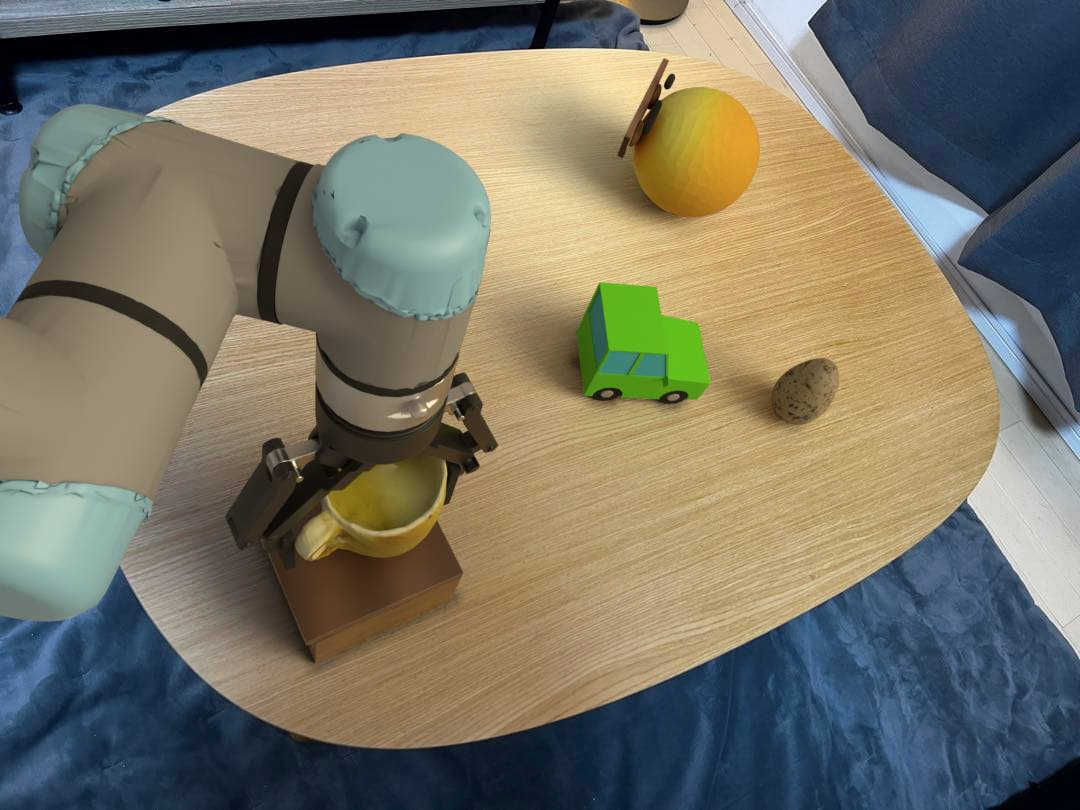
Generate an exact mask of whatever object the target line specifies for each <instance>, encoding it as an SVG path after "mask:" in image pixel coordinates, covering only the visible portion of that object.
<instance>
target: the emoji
mask: <svg viewBox="0 0 1080 810" xmlns="http://www.w3.org/2000/svg"><path fill="white" fill-rule="evenodd" d="M669 62H670V60H669V59H667V58H665V57H663V58H662V59H661V62H660V64H659V66H658V68H657V70H656V73H655V74H654V76H653V78H652V80H651V82H650V84H649V86H648V88H647V90H646V91H645V94H644V96H643V98H642V100H641V102H640V104H639V106H638V108H637V109H636V112H635V114H634V116H633V117H632V120H631V121H630V124H629V125H628V128H627V129H626V132H625V134H624V135H623V139H622V141H621V143H620V146H619V148H618V152H617V154H616V156H617V157H619V158H620V159H623V158H624V157H625V155H626V153H627V151H628V150H629V147H630V148H632V147H633V149H632V164H633V169H634V173H635V176H636V178H637V182H638V185H639V186H640V188H641V190H642V191H643V192H644V194H645V196H647V197H648V199H649V200H650V201H651V202H653V203H654V204H655V205H656V206H657V207H658V208H660V209H662V210H663V211H664V212H665V211H666V212H668V213H670V214H672V215H675V216H679V217H683V218H684V217H685V218H702V217H708V216H711V215H714V214H717V213H719V212H721V211H724V210H726V209H727V208H728V207H730V206H732V205H733V204H734V203H735V202H736V201H738V200H739V199H740V198H741V196H742V195H743V194H744V193H745V192H746V191H747V190H748V187H749V186H750V185H751V184H752V181H753V180H754V177H755V175H756V173H757V169H758V165H759V161H760V157H761V156H760V155H761V143H760V142H761V141H760V136H759V132H758V128H757V126H756V123H755V121H754V119H753V117H752V115H751V114H750V113H749V111H748V109H747V108H746V107H745V106H744V105H743V104H742V103H741V102H740V101H739V100H738V99H737V98H735V97H733V96H732V95H731V94H729V93H727V92H725V91H722V90H720V89H717V88H712V87H707V86H692V87H687V88H682V89H679V90H676V91H674V92H671V93H670V94H668V95H666V96H665V97H663V98H662V99H660V97H661V94H662V90H663V89H662V88H664V90H667V91H668V90H670V89H671V88H672V86H673V85H674V82H675V80H676V75H675V74H674V73H670V74H669V75H668V76H667V77H666V79H665V80H664V83H663V87H662V84H661V83H660V82H661V80H662V78H663V76H664V73H665V71H666V68H667V66H668V65H669ZM647 111H648V112H647Z"/></svg>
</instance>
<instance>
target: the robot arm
mask: <svg viewBox="0 0 1080 810" xmlns="http://www.w3.org/2000/svg"><path fill="white" fill-rule="evenodd" d="M29 153H30V155H29V156H30V158H29V163H28V166H27V168H26V169H24V171H22V172H21V175H20V178H19V185H18V186H19V187H18V198H17V201H18V202H17V203H18V215H19V216H18V217H19V222H20V226H21V230H22V233H23V236H24V238H25V240H26V242H27V244H28V245H29V247H30V248H31V249H32V251H33V252H34V253H35V254H36V255H37V256H38V257H40V258H41V261H40V262H39V264H38V266H37V267H36V268H35V270H34V272H33V273H32V275H31V276H30V278H29V280H28V281H27V283H26V284H25V286H24V288H23V290H22V291H21V293H20V294H19V295H18V297H17V299H16V300H15V301H14V303H13V305H11V308H10V310H9V312H8V313H7V314H6V315H5V316H3V315H1V314H0V617H6V618H11V619H16V620H23V621H30V622H45V623H47V622H49V623H51V622H59V621H60V622H61V621H67V620H71V619H73V618H75V617H77V616H79V615H81V614H83V613H88V612H89V611H90V610H91V609H93V608H95V607H97V606H98V605H99V604H100V602H101V601H102V599H103V597H105V594H106V593H107V591H108V589H109V587H110V585H111V582H112V581H113V579H114V577H115V575H116V574H117V571H118V569H119V568H120V565H121V563H122V562H123V560H124V557H125V555H126V554H127V552H128V550H129V547H130V546H131V543H132V541H133V540H134V538H135V536H136V534H137V532H138V530H139V528H140V526H141V524H142V523H144V522H145V521H146V520H148V519H149V518H150V516H151V515H152V511H153V504H154V499H155V498H156V497H155V496H156V494H157V492H158V490H159V488H160V485H161V482H162V480H163V478H164V475H165V473H166V470H167V468H168V466H169V464H170V462H171V459H172V458H173V457H172V456H173V455H174V452H175V449H176V448H177V445H178V442H179V440H180V438H181V436H182V433H183V431H184V428H185V426H186V423H187V421H188V419H189V417H190V414H191V412H192V410H193V407H194V405H195V403H196V400H197V398H198V395H199V394H200V392H201V390H202V388H203V385H204V383H205V381H206V380H207V378H208V375H209V373H210V371H211V369H212V366H213V365H214V362H215V360H216V357H217V356H218V353H219V351H220V349H221V346H222V344H223V342H224V339H225V337H226V335H227V333H228V330H229V328H230V326H231V324H232V322H233V319H234V318H235V317H236V315H237V316H241V317H246V318H251V319H255V320H259V321H264V322H267V323H272V324H276V325H281V326H282V325H287V326H289V327H294V328H297V329H302V330H305V331H309V332H314V333H315V359H314V361H315V362H314V363H315V364H314V377H315V382H314V383H315V386H314V394H315V395H314V397H315V398H314V402H315V403H314V416H315V426H314V427H313V429H312V430H311V431H310V433H309V435H308V437H307V440H305V441H302V442H298V443H295V444H292V445H289V444H284V441H283V439H282V438H281V437H273V438H270V439H268V440H266V441H265V442H264V443H262V445H261V459H260V461H259V463H258V464H257V466H256V467H255V469H254V471H253V472H252V473H251V475H250V477H249V478H248V480H247V481H246V483H245V484H244V486H243V487H242V489H241V491H240V492H239V494H238V495H237V497H236V498H235V500H234V501H233V503H232V504H231V506H230V508H229V509H228V510H227V511H226V514H225V515H224V518H225V520H226V523H227V526H228V528H229V531H230V534H231V536H232V538H233V541H234V543H235V545H236V549H238V550H239V551H244V550H247V549H250V548H252V547H253V546H254V545H255V544H256V543H257V542H258V541H260V543H261V546H262V549H263V551H264V553H267V554H268V553H270V552H272V551H275V550H277V551H278V554H279V556H280V558H281V561H282V563H283V565H284V568H285V570H286V571H287V570H290V569H292V568H294V567H296V563H295V542H294V534H293V532H292V529H291V528H292V527H293V526H294V525H295V524H296V523H297V522H298V521H299V520H301V519H302V518H303V517H304V516H305V515H306V514H307V513H308V512H309V511H310V510H312V509H313V508H314V507H315V506H316V505H317V504H318V503H319V502H320V501H321V500H322V499H324V498H325V497H326V496H327V495H328V494H329V493H330V492H331V491H337V490H343V489H345V488H346V487H347V486H348V485H349V484H350V483H351V482H353V481H354V480H355V479H356V478H357V477H358V476H359V475H360V474H361V473H363V472H368V471H370V470H371V469H372V468H373V467H375V466H376V465H386V464H394V463H398V462H402V461H405V460H407V459H410V458H412V457H414V456H415V457H419V458H422V459H424V458H426V457H427V456H428V455H430V456H433V457H436V458H440V459H443V460H445V461H446V467H447V482H446V496H445V500H444V504H443V507H444V506H446V505H449V504H450V502H451V500H452V497H453V494H454V491H455V489H456V485H457V483H458V479H459V477H460V476H463V475H464V474H466V475H470V474H471V473H474V472H476V471H478V470H479V468H480V467H481V465H480V463H479V461H478V459H477V457H476V455H475V454H476V453H477V452H479V451H482V452H483V453H484V454H487V453H488V454H489V453H491V452H493V451H495V450H497V448H498V446H499V444H498V441H497V440H496V438H495V435H494V434H493V432H492V431H491V429H490V427H489V425H488V424H487V421H486V420H485V418H484V417H483V415H482V414H481V413H482V410H483V407H484V404H483V401H482V400H481V397H480V396H479V394H478V392H477V390H476V388H475V387H474V385H473V383H472V381H471V379H470V378H469V376H468V375H467V374H468V373H466V372H459V373H457V374H455V373H456V369H457V365H458V362H459V358H460V352H461V350H462V346H463V343H464V339H465V336H466V333H467V329H468V326H469V323H470V320H471V316H472V312H473V310H474V306H475V302H476V299H477V296H478V294H479V289H480V286H481V282H482V278H483V273H484V269H485V266H486V255H487V250H488V246H489V242H490V241H489V240H490V235H491V230H492V229H491V226H492V225H491V224H492V210H491V203H490V199H489V196H488V193H487V191H486V187H485V185H484V184H483V182H482V180H481V178H480V177H479V175H478V174H477V172H476V171H475V170H474V169H473V168H472V166H470V165H469V163H468V162H467V161H466V160H464V159H463V158H462V157H461V156H460V155H458V154H457V153H456V152H454V151H453V150H452V149H450V148H448V147H447V146H446V145H443V144H441V143H439V142H436V141H434V140H432V139H429V138H427V137H423V136H420V135H415V134H411V133H403V132H402V133H399V134H398V135H396V136H393V137H380V136H379V135H377V134H371V135H370V134H369V135H365V136H362V137H359V138H357V139H354V140H352V141H350V142H348V143H346V144H344V145H343V146H342V147H340V148H339V149H338V150H337V151H336V152H335V153H334V154H332V156H331V157H330V158H329V159H328V161H327V162H326V164H322V163H321V164H320V163H315V164H312V163H309V162H305V161H301V160H297V159H294V158H290V157H287V156H283V155H280V154H278V153H273V152H270V151H267V150H263V149H260V148H257V147H254V146H250V145H247V144H244V143H240V142H237V141H234V140H231V139H227V138H224V137H221V136H217V135H214V134H211V133H208V132H205V131H202V130H198V129H195V128H192V127H189V126H185V125H184V124H182V123H181V122H179V121H178V120H174V119H171V118H167V117H164V116H162V115H161V116H160V115H159V116H151V115H148V114H144V113H143V114H142V113H139V112H134V111H130V110H126V109H118V108H117V109H116V108H112V107H106V106H102V105H98V104H97V105H96V104H92V103H80V104H79V103H78V104H73V105H71V106H67V107H65V108H62V109H61V110H59V111H58V112H56V113H54V114H53V115H52V116H51V117H50V118H49V119H48V120H47V121H46V122H45V123H44V124H43V125H42V127H41V128H40V129H39V130H38V132H37V133H36V134H35V137H34V138H33V139H32V142H31V144H30V150H29ZM444 413H448V415H449V416H454V417H455V419H456V420H457V422H462V423H463V426H464V427H465V428H466V431H464V432H463V431H462V430H461V429H459V428H457V427H455V426H452V425H449V424H447V423H445V422H442V421H443V417H444ZM338 468H339V469H342V470H341V471H340V472H339V469H338Z"/></svg>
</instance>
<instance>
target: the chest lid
mask: <svg viewBox="0 0 1080 810" xmlns="http://www.w3.org/2000/svg"><path fill="white" fill-rule="evenodd" d="M321 512H322V503H321V501H320V502H319V503H318V504H317V505H316V506H315V507H314V508H313V509H312V510H310V511H309V512H308V513H307V514H306V515H305V516H304V517H303V518H302V519H301V520H299V521H298V522H297V523H296V524H295V525H294V526H293V527H292V528H291V529H292V532H293V534H294V541H295V539H296V537H297V536H298V534H299V533H300V532H301V530H302V529H303V527H304V526H305V525H306V524H307V523H308V522H309V521H310V520H311V519H312V518H314V517H316V516H317V515H319V514H320V513H321ZM267 555H268V558H269V561H270V563H271V566H272V567H273V570H274V573H275V575H276V577H277V580H278V582H279V584H280V587H281V589H282V591H283V594H284V596H285V598H286V601H287V603H288V606H289V608H290V610H291V613H292V616H293V618H294V620H295V622H296V624H297V628H298V629H299V632H300V635H301V637H302V640H303V642H304V643H305V646H308V645H309V644H311V643H314V642H316V641H318V640H320V639H323V638H325V637H327V636H329V635H332V634H334V633H336V632H338V631H340V630H343V629H345V628H347V627H349V626H352V625H354V624H356V623H358V622H361V621H363V620H365V619H367V618H370V617H372V616H374V615H376V614H379V613H381V612H383V611H385V610H388V609H390V608H392V607H394V606H397V605H399V604H401V603H403V602H406V601H408V600H410V599H412V598H415V597H417V596H419V595H421V594H424V593H426V592H428V591H430V590H433V589H435V588H437V587H439V586H442V585H444V584H446V583H448V582H451V581H453V580H455V579H457V578H459V577H461V578H462V577H463V575H464V571H463V569H462V567H461V564H460V563H459V561H458V559H457V557H456V555H455V552H454V551H453V549H452V546H451V545H450V543H449V541H448V539H447V537H446V535H445V533H444V531H443V529H442V527H441V525H440V523H439V521H438V520H437V521H436V522H435V524H434V526H433V527H432V529H431V530H430V532H429V533H428V535H427V536H426V537H425V538H424V539H423V540H422V541H421V542H420V543H419V544H417V545H416V546H415V547H414V548H412V549H410V550H409V551H407V552H405V553H403V554H400V555H398V556H393V557H387V558H379V557H372V556H367V555H361V554H359V553H356V552H353V551H350V550H345V549H339V548H337V549H336V550H334V551H332V552H331V553H330V554H329V555H328V556H324V557H322V558H320V559H318V560H313V561H309V560H305V559H304V558H303V557H302V556H301V555H300V554H299V553H298V552H297V550H296V547H295V563H296V567H294V568H292V569H290V570H287V571H286V570H285V568H284V565H283V563H282V561H281V558H280V556H279V554H278V551H277V550H275V551H272V552H270V553H267Z"/></svg>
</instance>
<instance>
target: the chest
mask: <svg viewBox="0 0 1080 810" xmlns="http://www.w3.org/2000/svg"><path fill="white" fill-rule="evenodd" d="M461 579H462V577H459V578H457V579H455V580H453V581H451V582H448V583H446V584H444V585H442V586H439V587H437V588H435V589H433V590H430V591H428V592H426V593H424V594H421V595H419V596H417V597H415V598H412V599H410V600H408V601H406V602H403V603H401V604H399V605H397V606H394V607H392V608H390V609H388V610H385V611H383V612H381V613H379V614H376V615H374V616H372V617H370V618H367V619H365V620H363V621H361V622H358V623H356V624H354V625H352V626H349V627H347V628H345V629H343V630H340V631H338V632H336V633H334V634H332V635H329V636H327V637H325V638H323V639H320V640H318V641H316V642H314V643H311V644H309V645H307V646H308V650H309V651H310V653H311V656H312V658H313V660H314V663H315V664H318V663H320V662H323V661H325V660H327V659H328V658H331V657H333V656H335V655H337V654H339V653H341V652H345V650H348V649H349V648H352V647H354V646H356V645H358V644H361V643H363V642H365V641H368V640H369V639H371V638H374V637H375V636H378V635H380V634H382V633H384V632H386V631H389V630H390V629H393V628H395V627H398V626H399V625H402V624H403V623H405V622H408V621H409V620H412V619H415V618H416V617H418V616H420V615H422V614H426V613H427V612H429V611H432V610H434V609H435V608H437V607H440V606H441V605H444V604H447V603H448V602H450V601H451V600H452V598H453V595H454V594H455V592H456V589H457V588H458V585H459V583H460V582H461Z"/></svg>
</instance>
